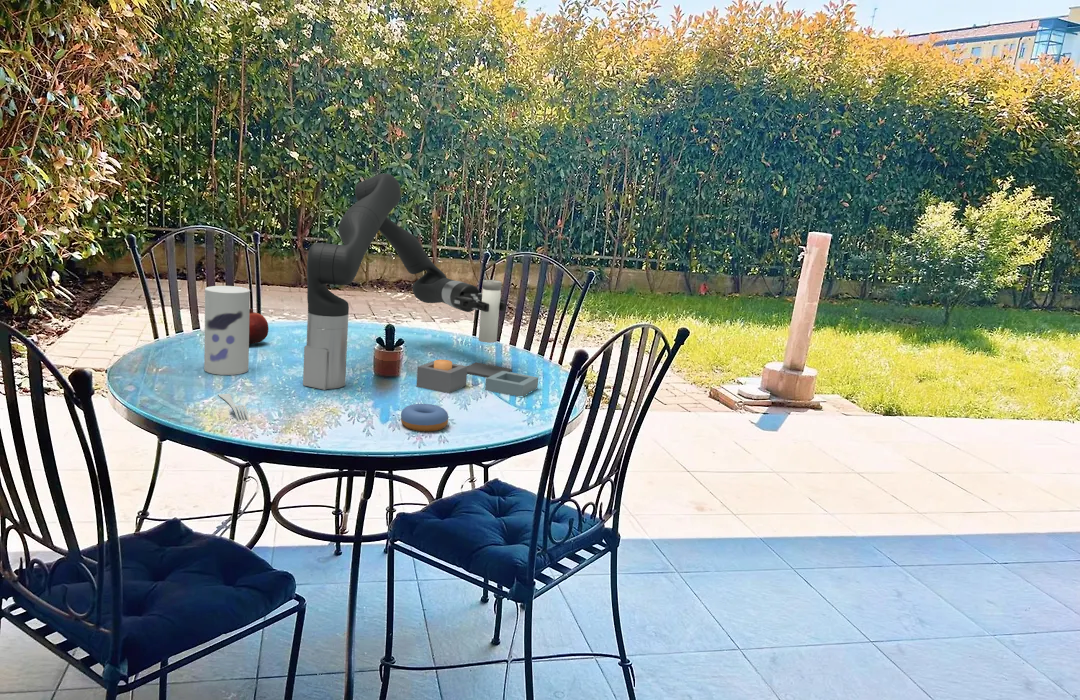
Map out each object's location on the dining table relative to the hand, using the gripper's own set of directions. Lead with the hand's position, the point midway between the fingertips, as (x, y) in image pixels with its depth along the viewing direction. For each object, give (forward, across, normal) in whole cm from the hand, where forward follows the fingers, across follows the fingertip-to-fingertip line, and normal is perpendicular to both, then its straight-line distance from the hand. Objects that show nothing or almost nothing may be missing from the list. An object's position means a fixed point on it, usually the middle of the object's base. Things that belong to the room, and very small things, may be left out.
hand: (496, 307), depth 219 cm
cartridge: (-3, 0, +10) cm, 10 cm away
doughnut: (+32, -39, +18) cm, 53 cm away
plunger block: (+6, -19, +18) cm, 27 cm away
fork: (+6, -70, +18) cm, 73 cm away
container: (-23, -62, +18) cm, 69 cm away
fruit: (-49, -48, +19) cm, 71 cm away
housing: (+15, -4, +18) cm, 24 cm away
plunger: (+6, -19, +17) cm, 27 cm away
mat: (-2, 0, +18) cm, 18 cm away
